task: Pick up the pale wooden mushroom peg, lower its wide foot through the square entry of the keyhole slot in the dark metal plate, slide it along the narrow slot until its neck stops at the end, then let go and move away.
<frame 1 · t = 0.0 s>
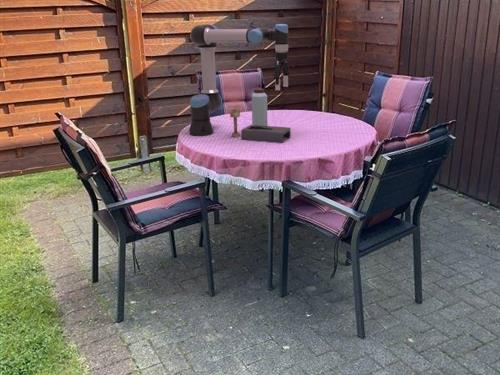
hand: (281, 88, 305), 28 cm above the table, tool pointing down, fingers open, 13 cm apart
keyhole plate: (266, 138, 305), on the table
peg: (235, 136, 313), on the table
water bottle: (259, 128, 331), on the table
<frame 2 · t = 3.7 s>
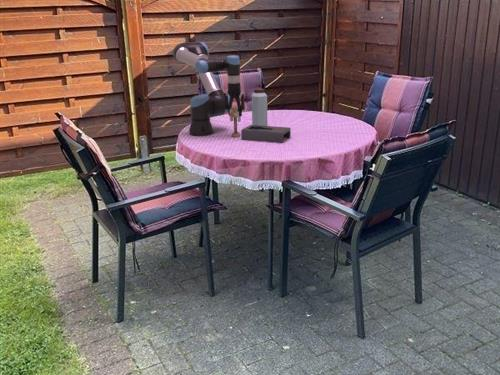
hand: (235, 121, 310), 9 cm above the table, tool pointing down, fingers closed on peg, 4 cm apart
peg: (235, 136, 313), on the table, touching gripper
everything else where it was.
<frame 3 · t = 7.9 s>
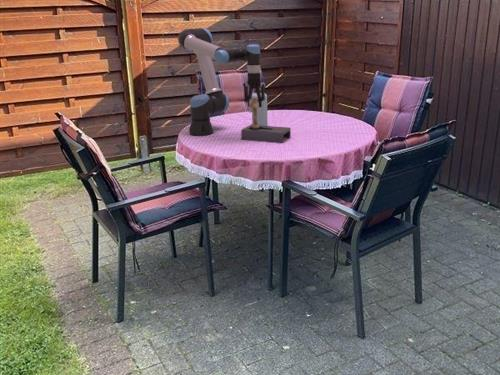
hand: (254, 112, 303), 15 cm above the table, tool pointing down, fingers closed on peg, 4 cm apart
peg: (255, 127, 306), point 6 cm above the table, touching gripper
everything else where it was.
when the fingers open (10 cm above the table, at t = 12.4 s): peg stays where it is, resting in keyhole plate.
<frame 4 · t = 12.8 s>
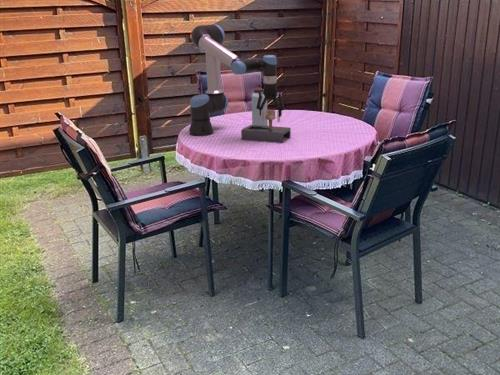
hand: (270, 121, 301), 11 cm above the table, tool pointing down, fingers open, 9 cm apart
peg: (270, 139, 304), resting in keyhole plate
everything else where it was.
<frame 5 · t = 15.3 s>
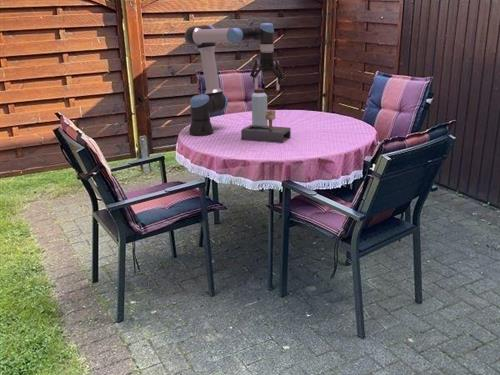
hand: (266, 89, 296), 29 cm above the table, tool pointing down, fingers open, 13 cm apart
nothing on the table moved.
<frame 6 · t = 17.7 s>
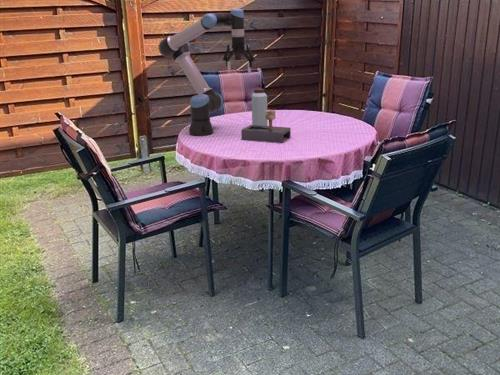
hand: (239, 72, 312), 37 cm above the table, tool pointing down, fingers open, 13 cm apart
nothing on the table moved.
at the end: peg 0.0 cm from the target spot on the keyhole plate, point 0.0 cm above the keyhole plate's base; peg tilted 0°; the gripper is holding nothing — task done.
